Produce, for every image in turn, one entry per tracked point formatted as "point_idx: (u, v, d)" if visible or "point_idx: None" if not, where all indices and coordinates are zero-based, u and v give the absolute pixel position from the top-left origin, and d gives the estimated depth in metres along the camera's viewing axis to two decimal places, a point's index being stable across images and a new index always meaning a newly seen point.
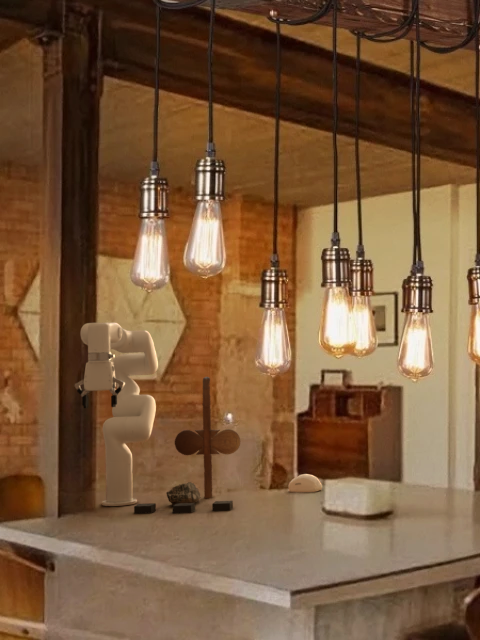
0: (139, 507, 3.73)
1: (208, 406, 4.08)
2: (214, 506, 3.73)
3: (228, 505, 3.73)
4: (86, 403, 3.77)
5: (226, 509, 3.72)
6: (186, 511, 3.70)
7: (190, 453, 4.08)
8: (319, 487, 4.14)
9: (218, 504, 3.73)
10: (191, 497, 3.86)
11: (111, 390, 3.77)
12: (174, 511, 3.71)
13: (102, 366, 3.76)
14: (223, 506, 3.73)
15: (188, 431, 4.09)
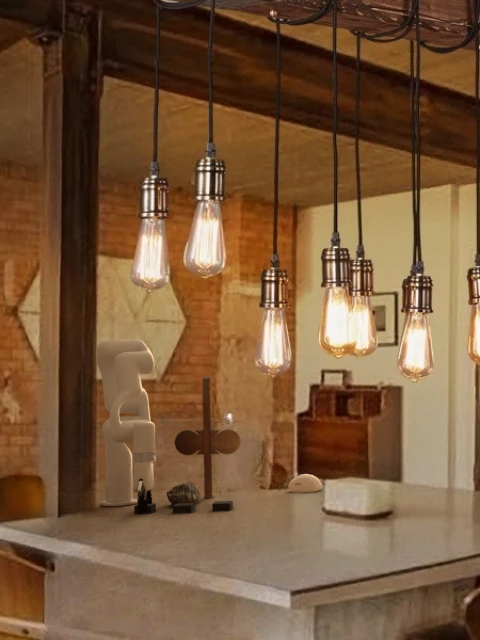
0: None
1: (208, 406, 4.08)
2: (214, 506, 3.73)
3: (228, 505, 3.73)
4: None
5: (226, 509, 3.72)
6: (186, 511, 3.70)
7: (190, 453, 4.08)
8: (319, 487, 4.14)
9: (218, 504, 3.73)
10: (191, 497, 3.86)
11: (151, 491, 3.80)
12: (174, 511, 3.71)
13: (152, 465, 3.79)
14: (223, 506, 3.73)
15: (188, 431, 4.09)
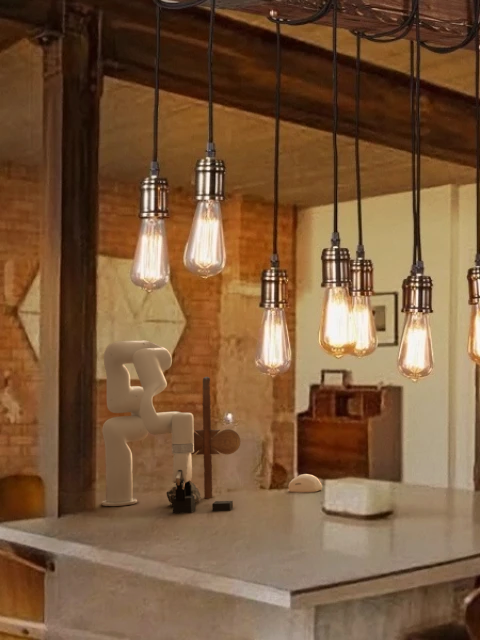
0: None
1: (208, 406, 4.08)
2: (214, 506, 3.73)
3: (228, 505, 3.73)
4: None
5: (226, 509, 3.72)
6: (186, 511, 3.70)
7: None
8: (319, 487, 4.14)
9: (218, 504, 3.73)
10: None
11: (190, 480, 3.79)
12: (174, 511, 3.71)
13: None
14: (223, 506, 3.73)
15: None
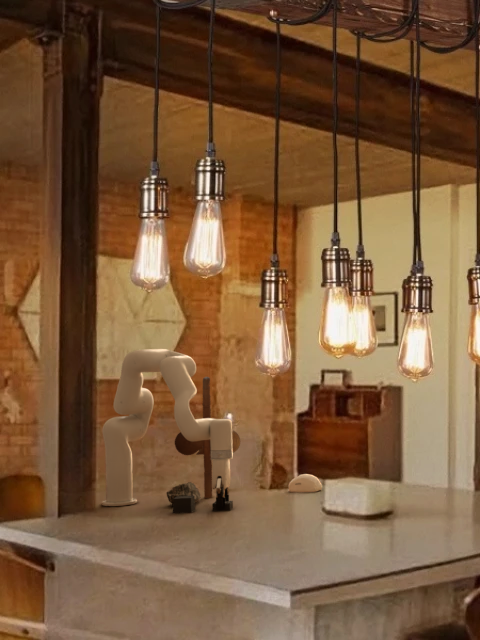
0: (178, 499, 3.71)
1: (208, 406, 4.08)
2: (214, 506, 3.73)
3: (228, 505, 3.73)
4: None
5: (226, 509, 3.72)
6: (186, 511, 3.70)
7: (190, 453, 4.08)
8: (319, 487, 4.14)
9: None
10: None
11: (227, 488, 3.79)
12: (174, 511, 3.71)
13: (229, 462, 3.79)
14: None
15: None
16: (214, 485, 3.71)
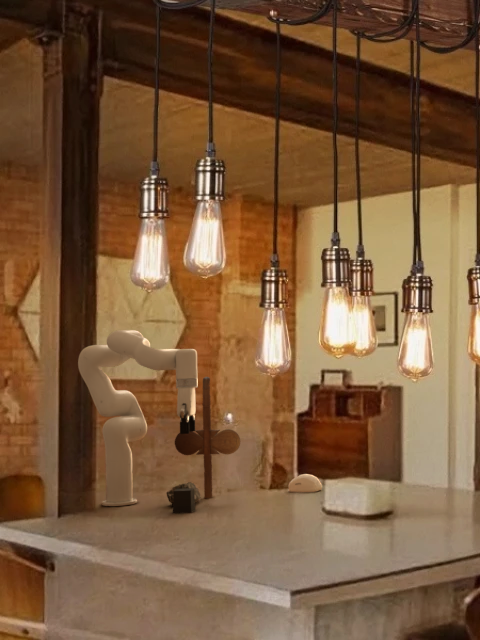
0: (179, 499, 3.71)
1: (208, 406, 4.08)
2: (175, 493, 3.71)
3: (189, 492, 3.71)
4: None
5: (187, 496, 3.71)
6: (186, 511, 3.70)
7: (190, 453, 4.08)
8: (319, 487, 4.14)
9: (179, 491, 3.71)
10: None
11: (193, 415, 3.89)
12: (174, 511, 3.71)
13: (194, 391, 3.87)
14: (184, 493, 3.71)
15: None
16: (179, 412, 3.80)
